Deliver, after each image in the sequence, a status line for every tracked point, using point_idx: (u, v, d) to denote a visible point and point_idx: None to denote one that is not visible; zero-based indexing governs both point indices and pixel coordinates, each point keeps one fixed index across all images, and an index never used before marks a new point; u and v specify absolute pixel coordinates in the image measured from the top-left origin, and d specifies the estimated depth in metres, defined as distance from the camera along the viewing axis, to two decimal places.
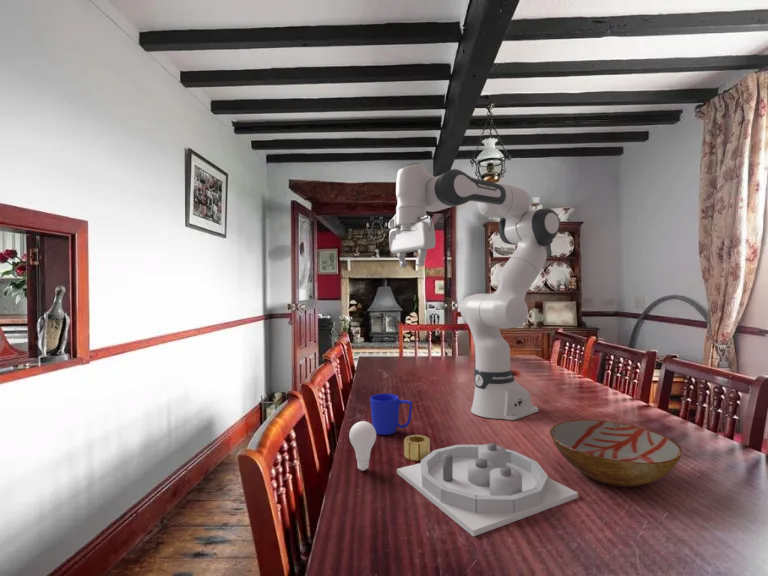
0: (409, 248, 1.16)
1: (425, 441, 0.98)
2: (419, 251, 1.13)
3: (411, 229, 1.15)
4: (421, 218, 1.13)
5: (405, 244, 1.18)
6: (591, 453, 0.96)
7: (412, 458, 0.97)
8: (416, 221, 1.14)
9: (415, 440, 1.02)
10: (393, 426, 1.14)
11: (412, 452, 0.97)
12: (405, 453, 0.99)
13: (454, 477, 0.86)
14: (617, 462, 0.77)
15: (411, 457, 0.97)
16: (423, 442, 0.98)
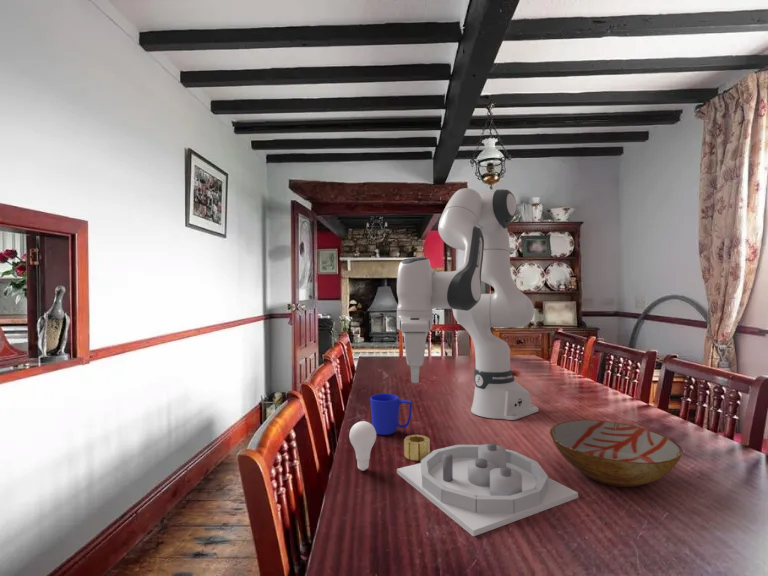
0: None
1: (425, 441, 0.98)
2: None
3: None
4: None
5: None
6: (591, 453, 0.96)
7: (412, 458, 0.97)
8: None
9: (415, 440, 1.02)
10: (393, 426, 1.14)
11: (412, 452, 0.97)
12: (405, 453, 0.99)
13: (454, 477, 0.86)
14: (617, 462, 0.77)
15: (411, 457, 0.97)
16: (423, 442, 0.98)
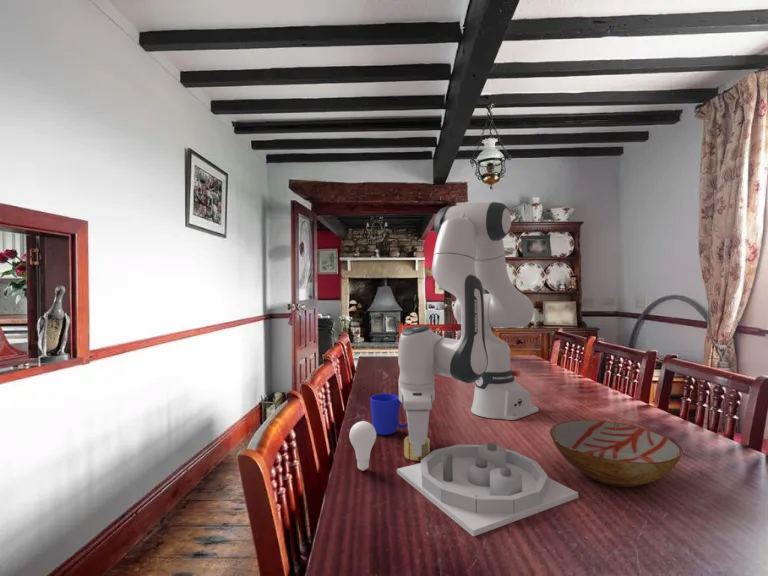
0: None
1: None
2: None
3: None
4: None
5: None
6: (591, 453, 0.96)
7: (412, 458, 0.97)
8: None
9: None
10: (393, 426, 1.14)
11: (412, 452, 0.97)
12: (405, 453, 0.99)
13: (454, 477, 0.86)
14: (617, 462, 0.77)
15: (411, 457, 0.97)
16: None
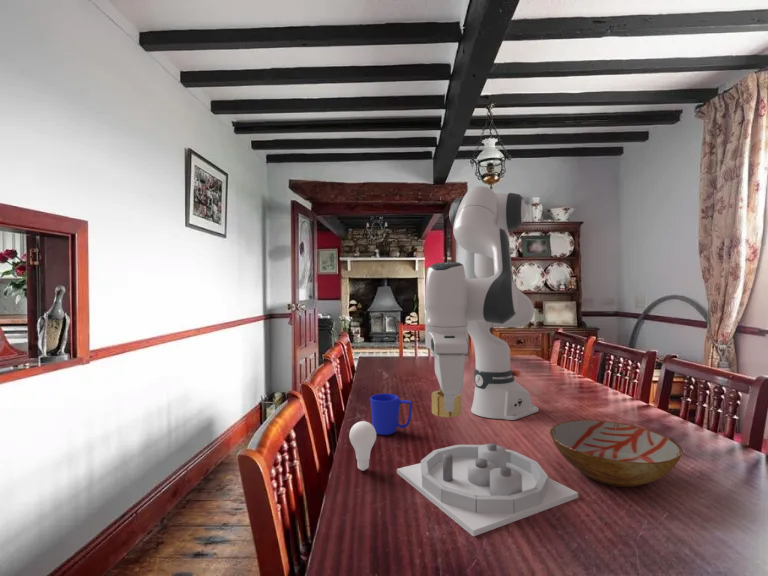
0: None
1: (457, 395, 0.83)
2: None
3: None
4: None
5: None
6: (591, 453, 0.96)
7: (442, 414, 0.82)
8: None
9: None
10: (393, 426, 1.14)
11: (442, 407, 0.82)
12: (433, 409, 0.84)
13: (454, 477, 0.86)
14: (617, 462, 0.77)
15: (441, 413, 0.82)
16: None
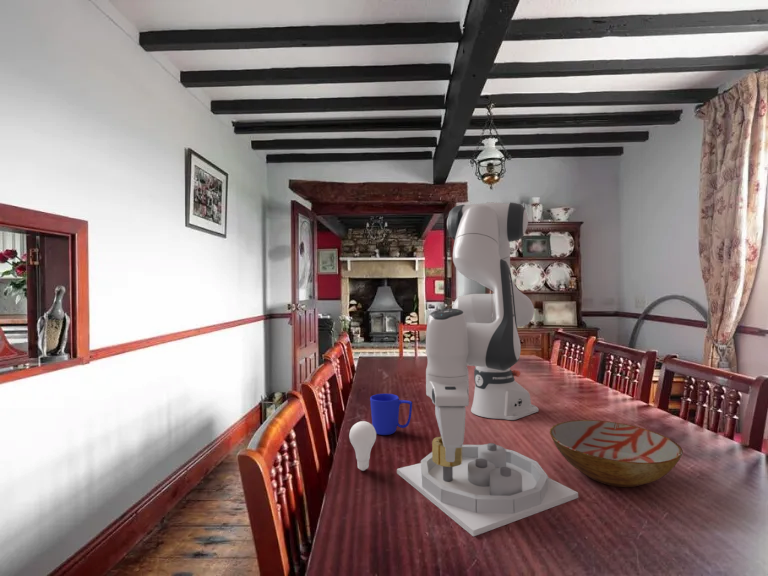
0: None
1: None
2: None
3: None
4: None
5: None
6: (591, 453, 0.96)
7: (443, 464, 0.82)
8: None
9: None
10: (393, 426, 1.14)
11: (443, 457, 0.82)
12: (434, 458, 0.84)
13: (454, 477, 0.86)
14: (617, 462, 0.77)
15: (441, 462, 0.82)
16: None
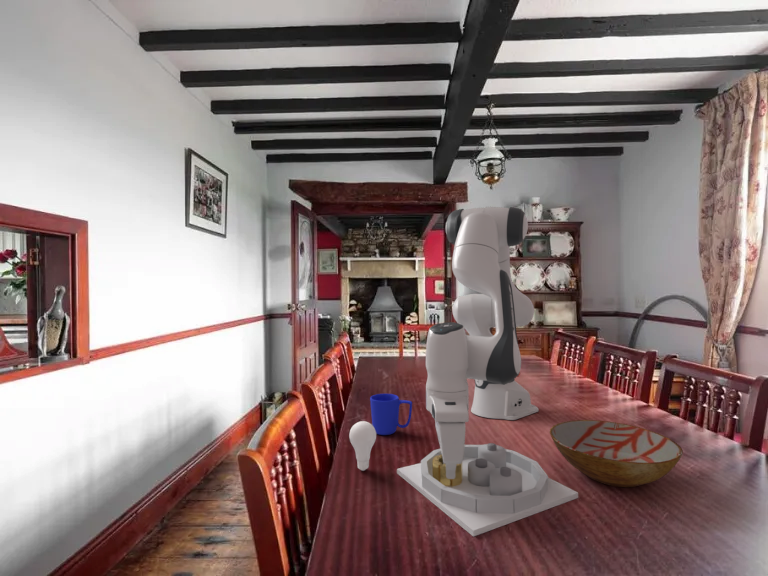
0: None
1: None
2: None
3: None
4: None
5: None
6: (591, 453, 0.96)
7: (443, 483, 0.82)
8: None
9: None
10: (393, 426, 1.14)
11: (443, 476, 0.82)
12: (434, 477, 0.84)
13: None
14: (617, 462, 0.77)
15: (442, 482, 0.82)
16: None
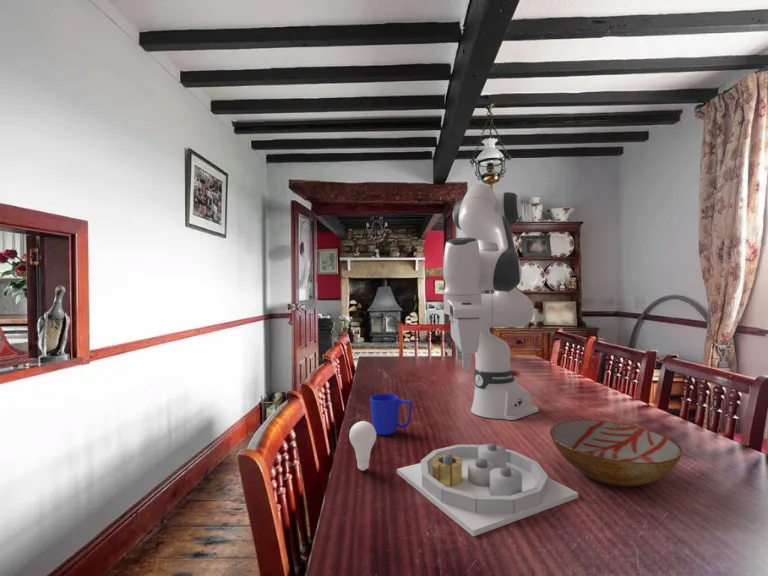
0: None
1: (458, 463, 0.84)
2: None
3: None
4: None
5: None
6: (591, 453, 0.96)
7: (443, 483, 0.82)
8: None
9: None
10: (393, 426, 1.14)
11: (443, 476, 0.82)
12: (434, 477, 0.84)
13: None
14: (617, 462, 0.77)
15: (442, 482, 0.82)
16: (455, 464, 0.83)
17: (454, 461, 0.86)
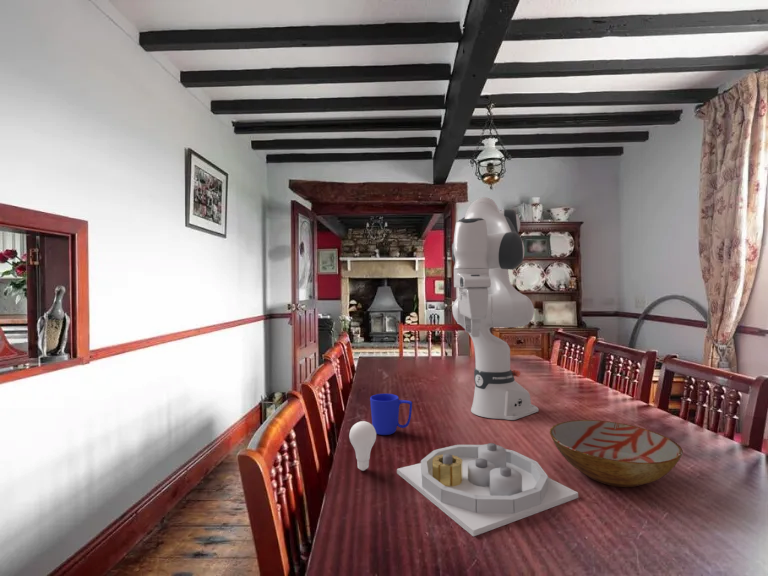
0: None
1: (458, 463, 0.84)
2: None
3: None
4: None
5: None
6: (591, 453, 0.96)
7: (443, 483, 0.82)
8: None
9: None
10: (393, 426, 1.14)
11: (443, 476, 0.82)
12: (434, 477, 0.84)
13: None
14: (617, 462, 0.77)
15: (442, 482, 0.82)
16: (455, 464, 0.83)
17: (454, 461, 0.86)
